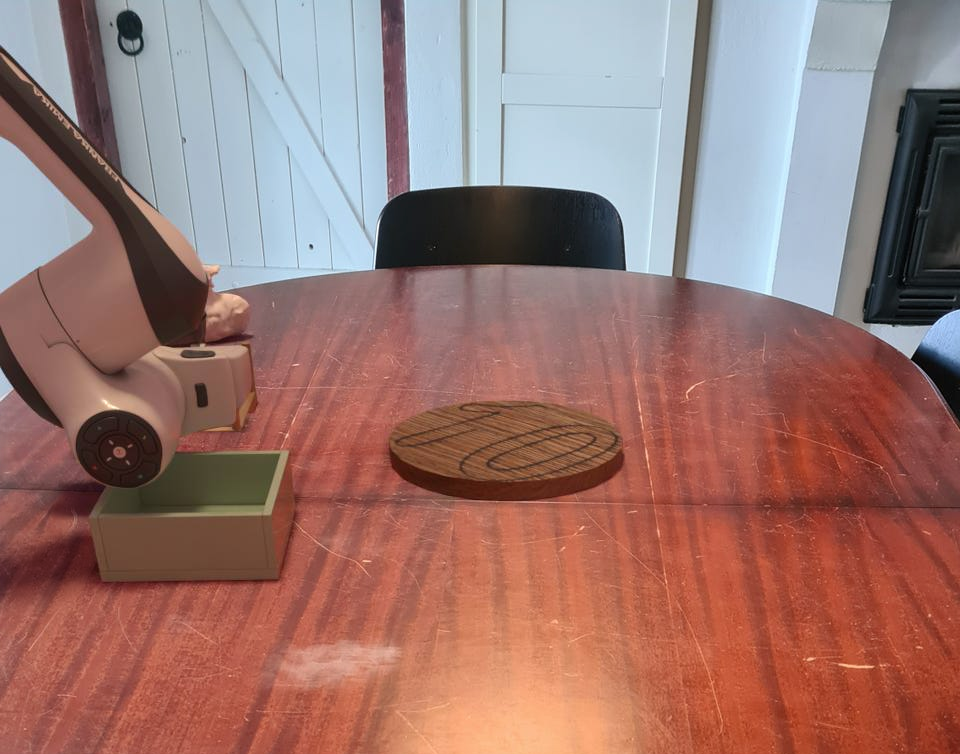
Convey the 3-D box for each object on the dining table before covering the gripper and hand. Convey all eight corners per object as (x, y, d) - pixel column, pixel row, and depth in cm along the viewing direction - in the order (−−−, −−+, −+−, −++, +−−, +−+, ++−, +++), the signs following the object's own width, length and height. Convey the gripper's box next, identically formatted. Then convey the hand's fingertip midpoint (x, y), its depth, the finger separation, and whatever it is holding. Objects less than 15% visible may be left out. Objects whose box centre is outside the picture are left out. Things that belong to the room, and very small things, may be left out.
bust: (167, 356, 170) (144, 300, 159) (171, 309, 172) (149, 250, 161) (254, 356, 170) (237, 299, 159) (256, 308, 172) (240, 250, 161)
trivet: (341, 456, 133) (340, 439, 132) (502, 402, 147) (502, 386, 146) (509, 521, 119) (509, 502, 118) (669, 454, 133) (671, 436, 132)
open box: (101, 582, 109) (87, 517, 105) (136, 512, 121) (125, 452, 117) (278, 579, 109) (271, 514, 105) (295, 510, 121) (289, 450, 118)
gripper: (31, 433, 116) (54, 389, 127) (252, 423, 117) (255, 381, 128) (16, 363, 112) (41, 324, 123) (243, 354, 114) (248, 317, 125)
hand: (152, 353), depth 126 cm, fingers open, 8 cm apart
